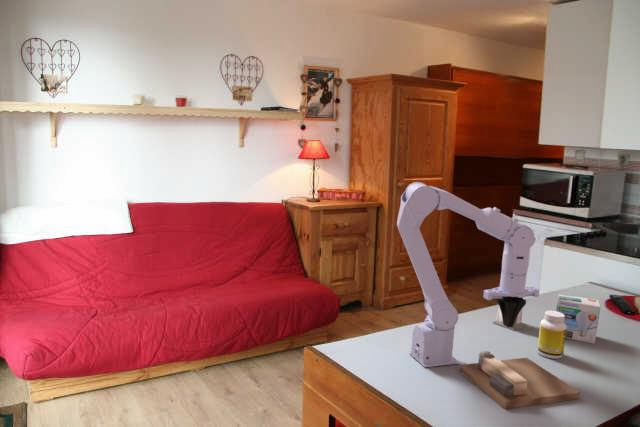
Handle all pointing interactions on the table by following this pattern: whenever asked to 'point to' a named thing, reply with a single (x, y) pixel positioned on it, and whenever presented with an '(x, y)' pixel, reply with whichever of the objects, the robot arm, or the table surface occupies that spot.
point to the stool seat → (539, 384)
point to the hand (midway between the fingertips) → (507, 325)
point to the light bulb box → (579, 317)
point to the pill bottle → (552, 335)
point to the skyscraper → (518, 321)
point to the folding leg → (502, 372)
